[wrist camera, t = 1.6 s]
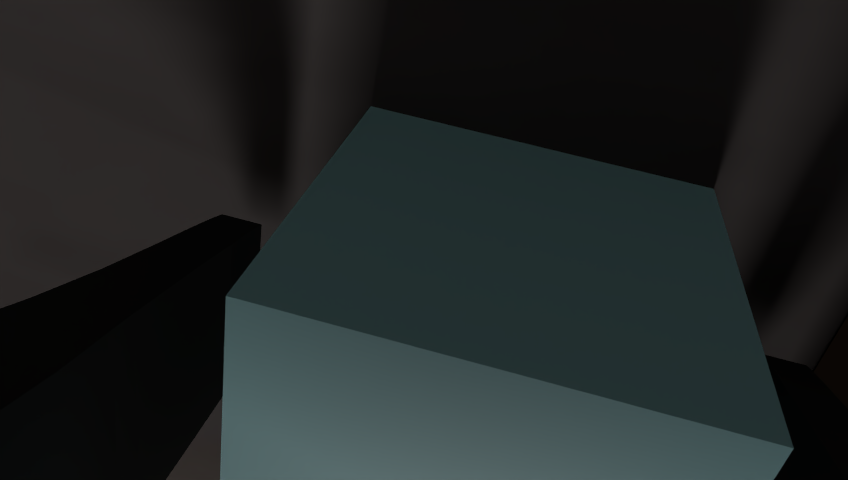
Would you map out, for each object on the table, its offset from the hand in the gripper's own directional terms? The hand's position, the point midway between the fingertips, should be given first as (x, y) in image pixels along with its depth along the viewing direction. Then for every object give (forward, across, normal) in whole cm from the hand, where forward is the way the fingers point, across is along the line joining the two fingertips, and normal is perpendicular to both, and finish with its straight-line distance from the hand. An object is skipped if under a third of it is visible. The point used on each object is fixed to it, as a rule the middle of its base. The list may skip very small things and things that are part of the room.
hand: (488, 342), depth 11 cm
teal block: (+2, 0, 0) cm, 2 cm away
